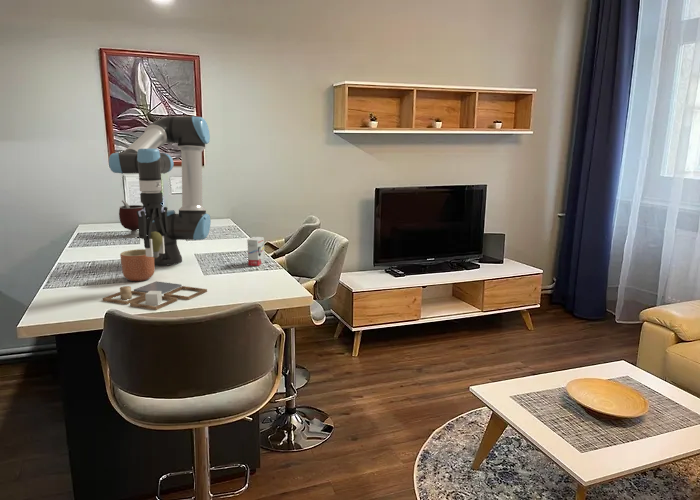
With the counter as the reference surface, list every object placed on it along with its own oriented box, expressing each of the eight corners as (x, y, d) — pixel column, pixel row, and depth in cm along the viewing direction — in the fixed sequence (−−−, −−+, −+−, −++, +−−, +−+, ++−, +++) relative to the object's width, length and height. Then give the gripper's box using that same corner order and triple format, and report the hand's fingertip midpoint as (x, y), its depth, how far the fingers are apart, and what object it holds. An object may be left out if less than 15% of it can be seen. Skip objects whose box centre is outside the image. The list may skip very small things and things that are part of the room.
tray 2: (130, 306, 176) (130, 303, 176) (152, 297, 186) (152, 294, 186) (156, 309, 173) (155, 307, 172) (177, 300, 182) (177, 298, 182)
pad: (133, 291, 193) (133, 289, 193) (156, 282, 204) (156, 281, 204) (160, 294, 189) (160, 293, 189) (181, 286, 200) (181, 284, 200)
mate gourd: (152, 236, 300) (150, 201, 295) (131, 239, 288) (128, 203, 284) (135, 233, 308) (132, 199, 303) (114, 236, 296) (110, 201, 292)
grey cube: (146, 305, 177) (145, 294, 177) (150, 301, 181) (149, 290, 180) (157, 305, 177) (157, 294, 177) (162, 302, 181) (161, 290, 180)
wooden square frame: (102, 300, 182) (102, 298, 181) (125, 292, 191) (125, 289, 191) (127, 304, 178) (126, 301, 178) (149, 295, 188) (149, 293, 188)
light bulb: (150, 256, 197) (148, 230, 195) (165, 256, 197) (163, 230, 195) (145, 259, 191) (143, 232, 189) (161, 259, 192) (159, 232, 190)
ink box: (258, 266, 231) (257, 240, 229) (247, 265, 232) (246, 239, 230) (265, 262, 240) (264, 236, 237) (254, 261, 241) (254, 236, 238)
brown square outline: (163, 296, 187) (163, 293, 187) (182, 288, 197) (182, 286, 197) (188, 299, 184) (188, 297, 183) (207, 291, 193) (206, 289, 193)
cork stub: (118, 299, 184) (117, 288, 183) (126, 296, 187) (125, 285, 186) (126, 300, 182) (125, 289, 182) (134, 297, 186) (133, 286, 185)
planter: (135, 285, 201) (133, 257, 199) (115, 280, 208) (113, 253, 205) (162, 278, 212) (160, 251, 209) (142, 273, 218) (140, 247, 216)
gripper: (141, 194, 179) (146, 260, 184) (176, 190, 196) (180, 250, 201) (123, 193, 182) (129, 259, 187) (160, 189, 199) (164, 249, 204)
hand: (155, 254), depth 194 cm, fingers closed on light bulb, 5 cm apart
